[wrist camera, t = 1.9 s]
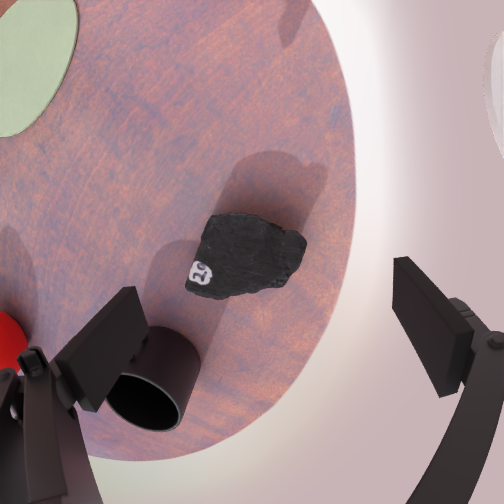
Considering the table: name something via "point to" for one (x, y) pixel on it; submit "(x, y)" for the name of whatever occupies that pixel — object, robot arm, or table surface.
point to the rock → (243, 256)
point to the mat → (33, 58)
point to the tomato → (10, 342)
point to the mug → (156, 382)
